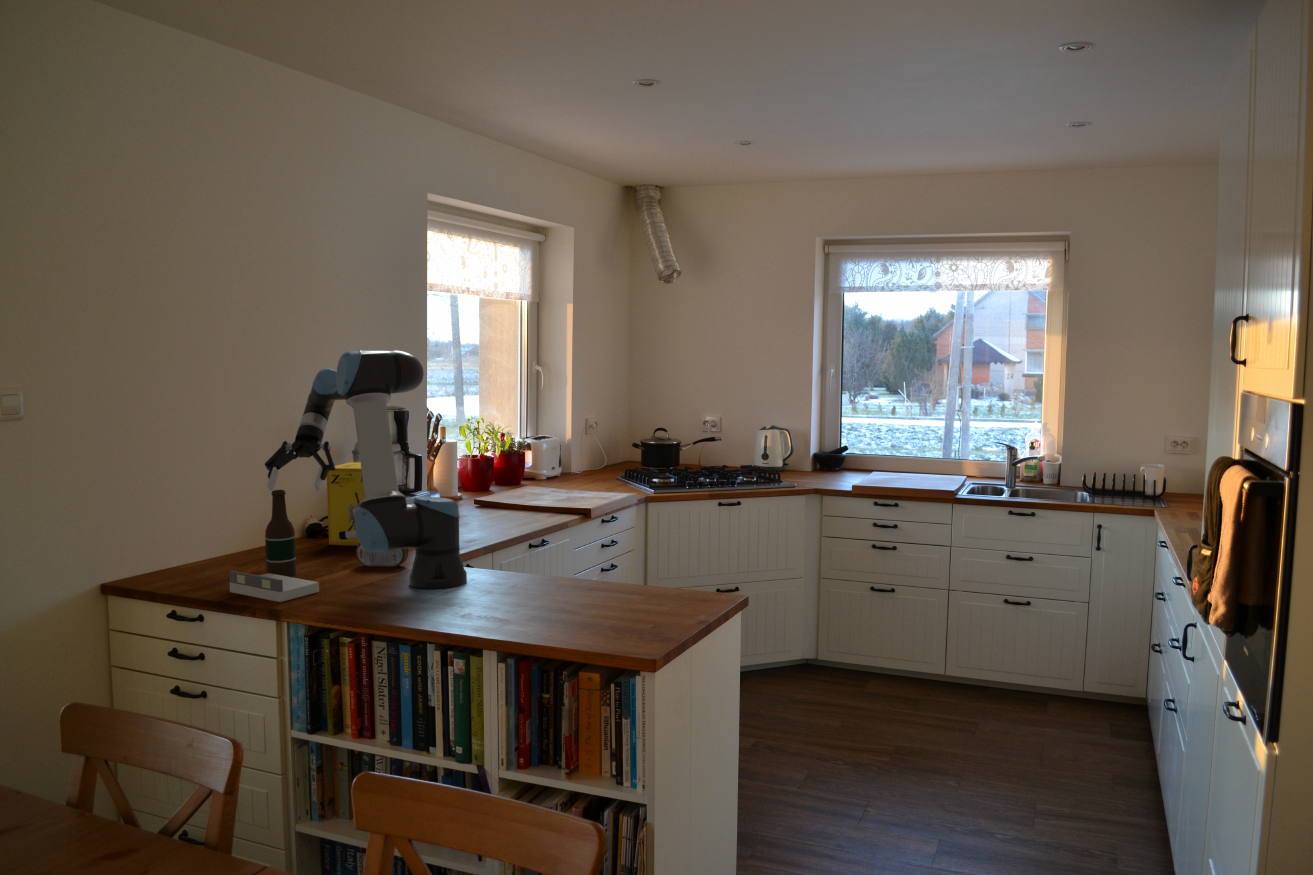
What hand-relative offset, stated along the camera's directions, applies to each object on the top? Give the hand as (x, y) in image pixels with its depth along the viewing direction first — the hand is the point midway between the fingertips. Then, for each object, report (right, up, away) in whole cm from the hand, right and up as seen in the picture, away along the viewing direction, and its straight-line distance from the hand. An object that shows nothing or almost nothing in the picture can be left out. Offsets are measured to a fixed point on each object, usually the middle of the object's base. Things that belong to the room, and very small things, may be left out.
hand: (293, 488), depth 279 cm
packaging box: (+8, -20, +40) cm, 45 cm away
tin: (+25, -23, +2) cm, 34 cm away
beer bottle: (0, -24, -9) cm, 26 cm away
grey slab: (+5, -26, -27) cm, 38 cm away
